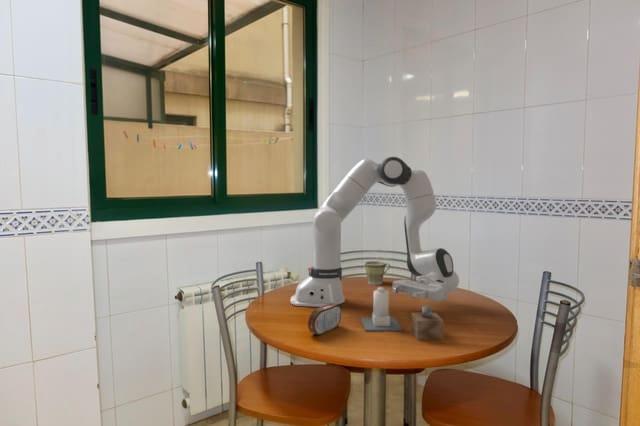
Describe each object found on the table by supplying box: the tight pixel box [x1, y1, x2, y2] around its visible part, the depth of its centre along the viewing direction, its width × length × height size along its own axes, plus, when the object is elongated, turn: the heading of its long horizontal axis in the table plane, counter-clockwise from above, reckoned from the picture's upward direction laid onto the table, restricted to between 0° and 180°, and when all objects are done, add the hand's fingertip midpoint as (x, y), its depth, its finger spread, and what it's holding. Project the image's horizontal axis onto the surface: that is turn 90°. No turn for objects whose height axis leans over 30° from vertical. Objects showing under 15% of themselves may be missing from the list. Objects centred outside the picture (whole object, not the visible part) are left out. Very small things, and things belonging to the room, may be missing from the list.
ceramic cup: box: [364, 260, 391, 286], centre depth 199 cm, size 13×10×10 cm
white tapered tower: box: [371, 286, 391, 326], centre depth 139 cm, size 5×5×12 cm
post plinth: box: [410, 305, 444, 341], centre depth 130 cm, size 8×8×9 cm
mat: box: [360, 316, 403, 332], centre depth 140 cm, size 12×12×1 cm
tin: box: [307, 303, 342, 336], centre depth 134 cm, size 15×3×8 cm, turn 141°
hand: (403, 293), depth 146 cm, fingers open, 8 cm apart
